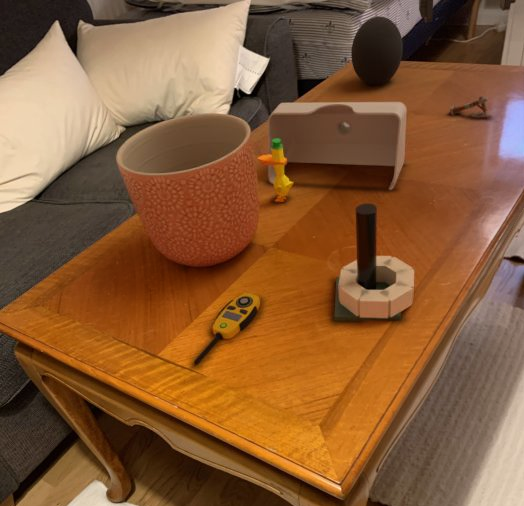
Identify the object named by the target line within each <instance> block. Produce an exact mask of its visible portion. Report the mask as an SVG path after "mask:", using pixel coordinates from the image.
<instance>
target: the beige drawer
mask: <svg viewBox="0 0 524 506" xmlns="http://www.w3.org/2000/svg"><path fill="white" fill-rule="evenodd" d="M407 110H408V109H407V106H406V104H404V102H401V101H340V102H339V101H334V102H333V101H330V102H328V101H327V102H315V101H314V102H280V103H279V104H278V105H277V107H275V109H274V110H273V111H272V112H271V114H270V115H269V116H268V117H267V155H272V152H271V145H272V144H273V142H272V140H273V139H276V138H279V139H281V144H282V145H283V155H284V157H285V158H286V159H287V162H286V164H284V169H285V168H286V166H287V165H288V163H302V164H304V163H305V164H327V165H328V164H330V165H331V164H332V165H354V166H355V165H359V166H383V167H384V166H385V167H394V170H393V171H394V172H393V177H392V179H391V180H392V181H391V182H390V185H389V187H388V190H390V191H392V190H393V189H394V188H395V185H396V183H397V181H398V178H399V176H400V173H401V171H402V169H403V166H404V164H405V158H406V157H405V156H406V154H405V153H406V136H407V135H406V134H407V133H406V132H407V112H408V111H407ZM267 166H268V167H267V177H268V182H269V183H270V184H274V179H275V178H276V172H275V169H274V166H272V165H267Z"/></svg>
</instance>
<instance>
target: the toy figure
mask: <svg viewBox="0 0 524 506" xmlns="http://www.w3.org/2000/svg"><path fill="white" fill-rule="evenodd" d="M272 142H273V144H272V145H271V152H272V155H268V154H263V155H260V156H258V157H257V158H256V160H257V161H259V163H260V164H261V165H264V166H268V165H272V166H274V169H275V172H276V178H275V179H274V183H273V188H274V189H273V191H274V192H275V193H276V194H277V195H278V196H277V197H276V199H275V200H274V202H276V203H283V202H285V200H286V199H287V197H286V196H288V194H289V192H290V190H291V189H292V187H293V185H294V183H295V182H294V181H290V178H289V177H288V176H287V175H285V168H284V164H286V162H287V159H286V158H285V157H284V155H283V145H282V144H281V139H279V138H276V139H273V140H272Z"/></svg>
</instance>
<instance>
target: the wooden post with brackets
mask: <svg viewBox="0 0 524 506" xmlns="http://www.w3.org/2000/svg"><path fill="white" fill-rule="evenodd" d="M487 101H489V97H487V96H483V95H482V96H481V95H480V96H479V97H478V99H477V100H474V101H471V102H468V103H466V104H464V105H460V106H456V105H453V106H451V107H450V108H449V112H450V115H451V116H455V115H456V114H459V113H460V112H463V111H466V110H467V111H468V110H469V109H472V108H475V107H478V108H479V109H481V110H482V112H480V111H478V112H474V113H473V114H472V115H471V117H472V118H478V119H479V118H481V117H482V116H484V118H485V119H488V118H489V117H490V115H489V110H488V109H487V106H486V105H487V104H486V102H487Z"/></svg>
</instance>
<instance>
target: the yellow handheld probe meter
mask: <svg viewBox="0 0 524 506" xmlns="http://www.w3.org/2000/svg"><path fill="white" fill-rule="evenodd" d="M260 306H261V299H260V297H259V295H257V294H255V293H250V292H242V293H240V294H239V295H238V296H236V298H233V299H231V300H230V301H229V302H227V304H226V305H225V306H223V308H222V309H221V310H220V312H218V314H217V316H216V317H215V320H214V322H213V325H212V327H211V328H212V332H213V335H215V336H214V338H213V339H212V341H211V342H210V343H209V344H208V345H207V346H206V347H205V348H204V349H203V351H202V352H201V353H200V354H199V355H198V356H197V357H196V358H195V359H194V361H193V364H194V365H198V364H199V363H200V361H201V360H202V359H203V358H204V357H205V356H206V355H207V354H208V353H209V352H210V350H211V349H212V348H213V347H214V346H215V345H216V343H217V342H218V341H219V340H222V339H225V340H227V339H228V340H230V339H232V338H233V337H235V336H236V335H237V334H238V333H240V332H242V331H244V330H245V329H246V328H247V327H248V326H249V325H250V324H251V323H252V322H253V320H254V319H255V318H256V316H257V314H258V310H259V308H260Z"/></svg>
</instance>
